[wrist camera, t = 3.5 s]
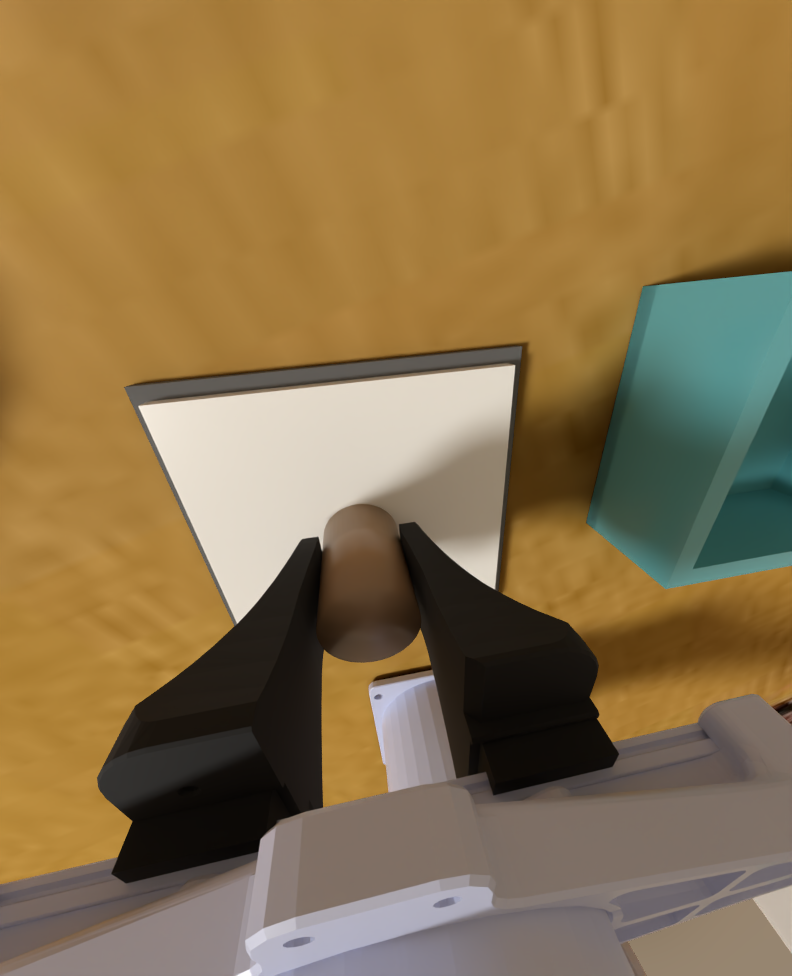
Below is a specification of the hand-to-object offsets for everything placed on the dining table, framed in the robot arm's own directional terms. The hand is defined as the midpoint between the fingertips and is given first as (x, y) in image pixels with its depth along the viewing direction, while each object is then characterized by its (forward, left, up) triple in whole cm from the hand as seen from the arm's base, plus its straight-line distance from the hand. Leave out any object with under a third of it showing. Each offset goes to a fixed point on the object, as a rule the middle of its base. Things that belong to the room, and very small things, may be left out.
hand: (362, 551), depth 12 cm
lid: (0, 0, -2) cm, 2 cm away
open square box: (+3, -16, -2) cm, 16 cm away
